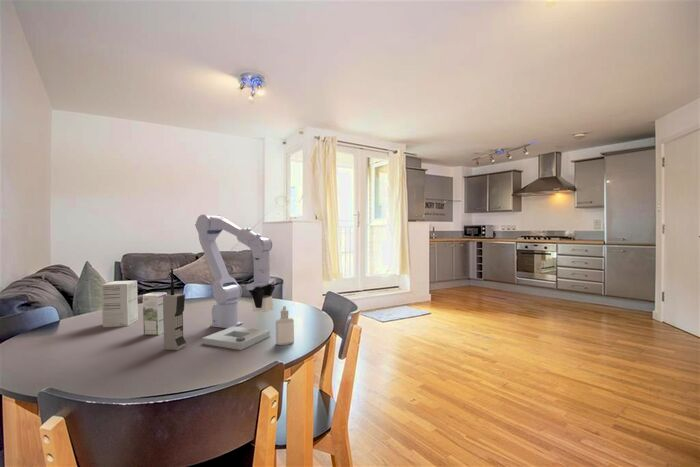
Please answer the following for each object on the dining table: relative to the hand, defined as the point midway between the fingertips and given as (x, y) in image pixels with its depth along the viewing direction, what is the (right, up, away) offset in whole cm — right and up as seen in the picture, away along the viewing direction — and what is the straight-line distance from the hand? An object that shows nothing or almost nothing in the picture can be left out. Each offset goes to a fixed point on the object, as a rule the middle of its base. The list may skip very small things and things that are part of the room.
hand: (262, 306), depth 124 cm
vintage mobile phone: (-22, -9, -19) cm, 31 cm away
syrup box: (-38, -9, -3) cm, 39 cm away
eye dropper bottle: (+12, -9, -16) cm, 22 cm away
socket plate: (-5, -9, -12) cm, 16 cm away
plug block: (0, -2, 0) cm, 2 cm away
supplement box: (-60, -10, +11) cm, 62 cm away
